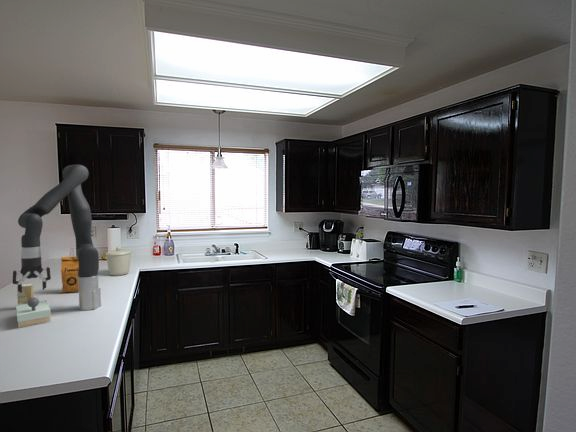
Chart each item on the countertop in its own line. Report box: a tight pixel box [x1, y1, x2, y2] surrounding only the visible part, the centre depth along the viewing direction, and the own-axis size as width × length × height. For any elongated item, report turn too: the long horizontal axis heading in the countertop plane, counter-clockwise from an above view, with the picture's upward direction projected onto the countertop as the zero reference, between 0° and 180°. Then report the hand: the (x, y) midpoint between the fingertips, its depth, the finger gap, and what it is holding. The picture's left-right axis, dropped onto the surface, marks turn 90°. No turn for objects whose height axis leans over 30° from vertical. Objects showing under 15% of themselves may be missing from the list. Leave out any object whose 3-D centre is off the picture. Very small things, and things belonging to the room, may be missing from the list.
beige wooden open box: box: [17, 316, 51, 328], centre depth 167 cm, size 18×12×5 cm, turn 39°
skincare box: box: [16, 283, 35, 305], centre depth 184 cm, size 6×4×12 cm
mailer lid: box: [15, 297, 52, 323], centre depth 166 cm, size 19×12×9 cm, turn 39°
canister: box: [105, 246, 133, 277], centre depth 261 cm, size 18×18×21 cm
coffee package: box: [60, 256, 79, 294], centre depth 215 cm, size 10×12×22 cm
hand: (32, 290), depth 162 cm, fingers open, 8 cm apart
